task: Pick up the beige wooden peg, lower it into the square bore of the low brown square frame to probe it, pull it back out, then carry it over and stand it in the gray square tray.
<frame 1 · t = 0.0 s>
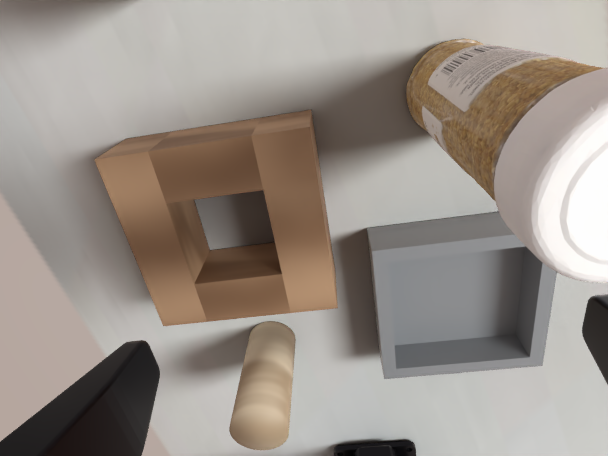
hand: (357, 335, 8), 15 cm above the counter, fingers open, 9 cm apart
sprinkles bottle: (450, 86, 20), on the counter
gray square tray: (450, 285, 25), on the counter
beige wooden peg: (272, 339, 28), on the counter
brown square frame: (238, 210, 23), on the counter
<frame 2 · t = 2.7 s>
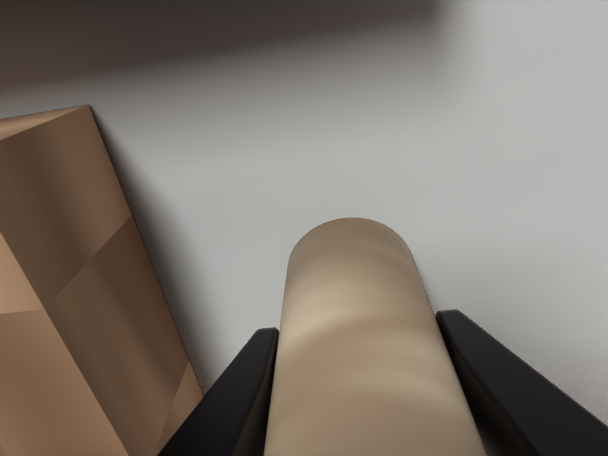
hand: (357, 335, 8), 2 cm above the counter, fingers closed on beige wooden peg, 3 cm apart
beige wooden peg: (350, 273, 10), on the counter, touching gripper
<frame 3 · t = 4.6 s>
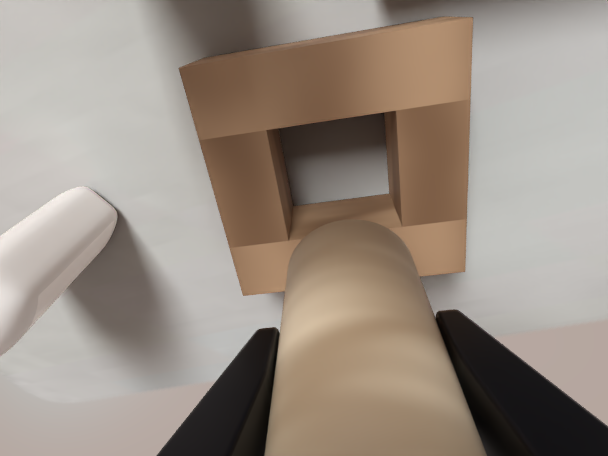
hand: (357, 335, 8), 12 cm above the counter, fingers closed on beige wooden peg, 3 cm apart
eye dropper bottle: (77, 225, 22), on the counter
beige wooden peg: (350, 275, 10), point 10 cm above the counter, touching gripper
brown square frame: (334, 153, 19), on the counter
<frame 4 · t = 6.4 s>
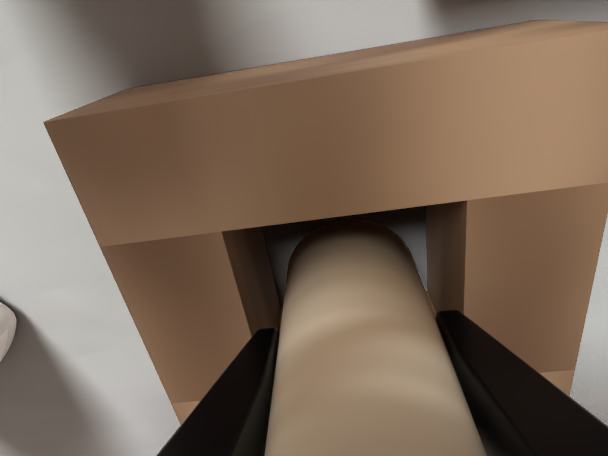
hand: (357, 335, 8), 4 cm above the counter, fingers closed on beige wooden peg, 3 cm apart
beige wooden peg: (350, 275, 10), point 2 cm above the counter, touching gripper
brown square frame: (344, 235, 12), on the counter
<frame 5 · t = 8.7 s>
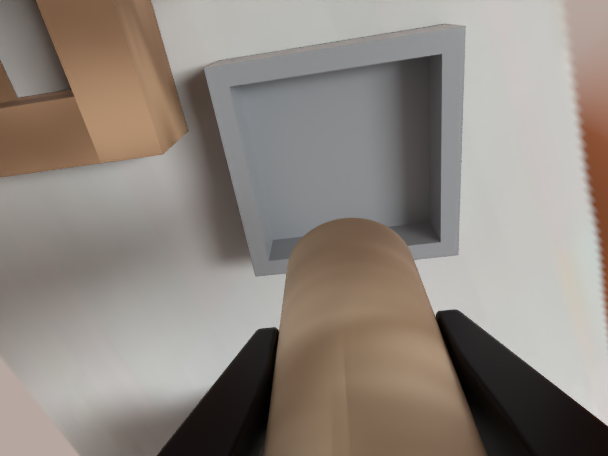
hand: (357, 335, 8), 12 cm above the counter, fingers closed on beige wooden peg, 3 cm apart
gray square tray: (341, 152, 19), on the counter
beige wooden peg: (349, 273, 10), point 10 cm above the counter, touching gripper
brown square frame: (42, 32, 17), on the counter
when the fingers open (4 cm above the counter, at t = 10.6 s): beige wooden peg stays where it is, resting on gray square tray.
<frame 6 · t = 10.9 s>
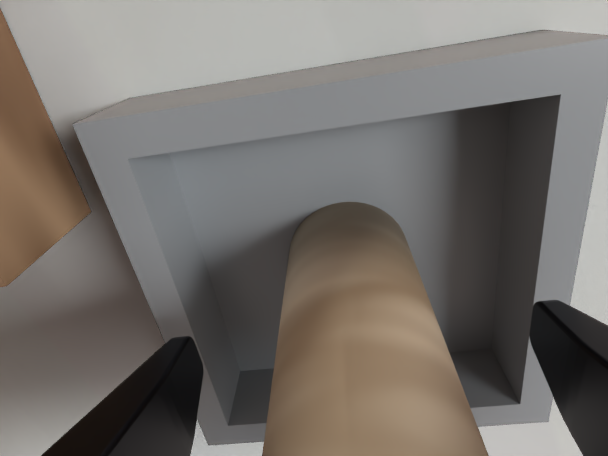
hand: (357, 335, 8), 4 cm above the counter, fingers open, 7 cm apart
gray square tray: (347, 243, 12), on the counter
beige wooden peg: (347, 255, 11), point 1 cm above the counter, touching gray square tray
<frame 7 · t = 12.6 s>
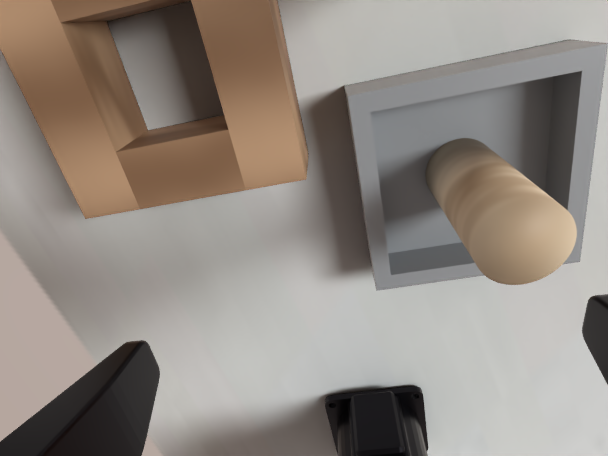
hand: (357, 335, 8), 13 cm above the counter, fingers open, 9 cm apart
gray square tray: (456, 166, 20), on the counter
beige wooden peg: (459, 171, 19), point 1 cm above the counter, touching gray square tray
brown square frame: (177, 68, 18), on the counter
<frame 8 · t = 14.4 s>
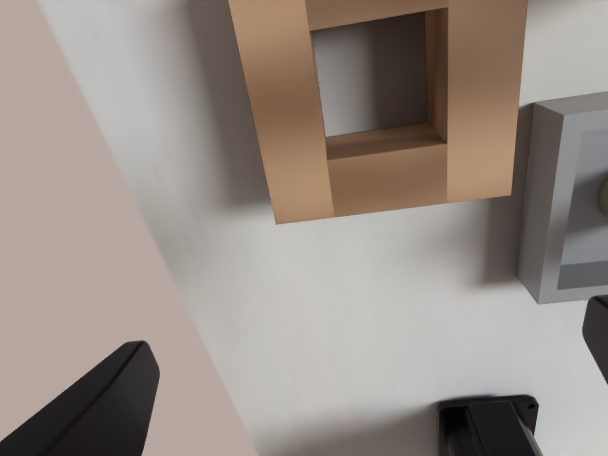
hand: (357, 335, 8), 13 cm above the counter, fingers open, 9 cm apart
brown square frame: (371, 77, 18), on the counter
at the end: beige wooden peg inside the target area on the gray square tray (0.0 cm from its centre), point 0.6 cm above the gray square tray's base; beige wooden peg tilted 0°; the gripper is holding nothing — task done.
